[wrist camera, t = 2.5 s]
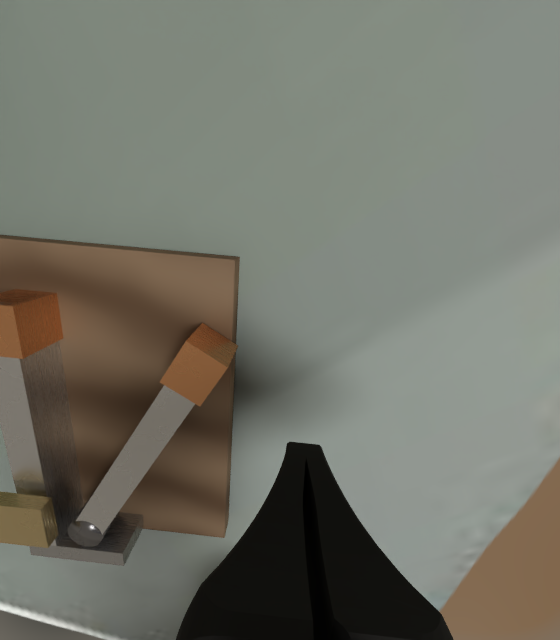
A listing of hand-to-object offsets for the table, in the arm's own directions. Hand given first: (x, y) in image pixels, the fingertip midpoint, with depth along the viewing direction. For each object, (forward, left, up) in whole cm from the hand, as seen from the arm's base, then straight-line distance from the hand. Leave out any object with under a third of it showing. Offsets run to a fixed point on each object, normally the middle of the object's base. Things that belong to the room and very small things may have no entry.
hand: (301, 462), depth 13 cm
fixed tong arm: (-5, +14, -7) cm, 17 cm away
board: (-4, +12, -9) cm, 16 cm away
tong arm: (-5, +10, -7) cm, 13 cm away
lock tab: (-10, +17, -4) cm, 20 cm away
